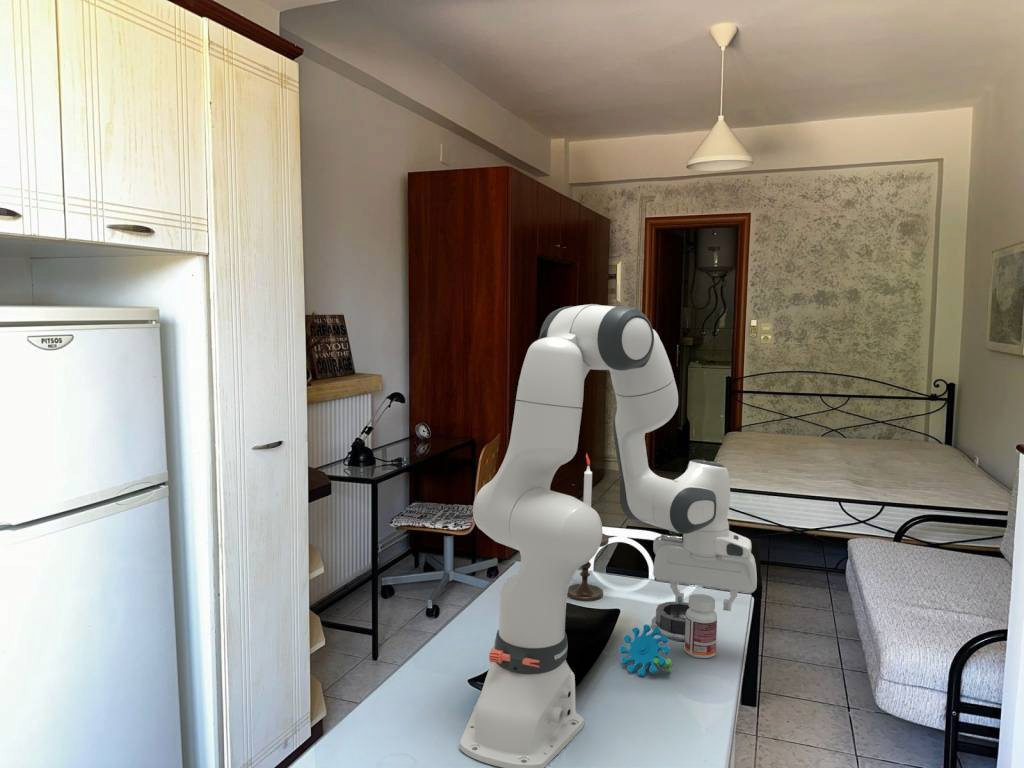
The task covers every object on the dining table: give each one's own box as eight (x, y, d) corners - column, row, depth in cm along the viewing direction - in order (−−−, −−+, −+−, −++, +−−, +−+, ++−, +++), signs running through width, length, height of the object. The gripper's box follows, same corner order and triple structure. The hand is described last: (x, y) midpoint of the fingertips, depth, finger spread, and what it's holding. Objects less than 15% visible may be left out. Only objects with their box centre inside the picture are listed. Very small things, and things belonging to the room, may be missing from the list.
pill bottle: (721, 654, 146) (724, 600, 145) (702, 662, 142) (704, 606, 141) (697, 643, 151) (700, 590, 150) (677, 650, 147) (680, 596, 146)
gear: (608, 656, 140) (637, 614, 143) (620, 669, 144) (648, 628, 147) (651, 686, 132) (682, 641, 135) (663, 699, 135) (692, 655, 138)
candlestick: (553, 591, 178) (557, 451, 175) (585, 583, 184) (590, 448, 181) (582, 606, 169) (587, 459, 166) (615, 596, 175) (621, 455, 173)
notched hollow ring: (709, 646, 149) (710, 627, 149) (646, 635, 154) (647, 617, 153) (715, 622, 161) (715, 605, 161) (656, 613, 166) (657, 596, 165)
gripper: (650, 537, 145) (648, 604, 147) (757, 550, 138) (754, 620, 139) (656, 529, 151) (654, 593, 152) (758, 541, 144) (756, 607, 145)
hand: (703, 606), depth 146 cm, fingers open, 8 cm apart
